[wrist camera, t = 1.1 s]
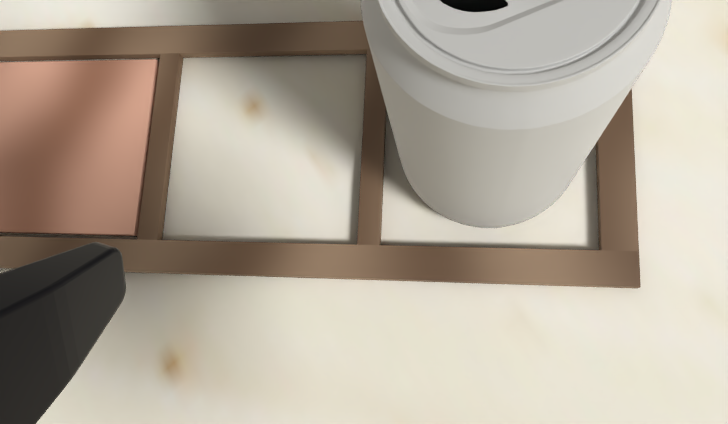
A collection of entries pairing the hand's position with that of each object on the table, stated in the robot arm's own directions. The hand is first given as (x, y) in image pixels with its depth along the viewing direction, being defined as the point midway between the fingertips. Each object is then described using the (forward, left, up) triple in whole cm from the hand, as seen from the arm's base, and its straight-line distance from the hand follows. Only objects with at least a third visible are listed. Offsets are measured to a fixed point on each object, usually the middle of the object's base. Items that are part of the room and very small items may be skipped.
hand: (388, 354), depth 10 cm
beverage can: (+8, +1, -14) cm, 16 cm away
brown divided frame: (+4, +9, -13) cm, 17 cm away
